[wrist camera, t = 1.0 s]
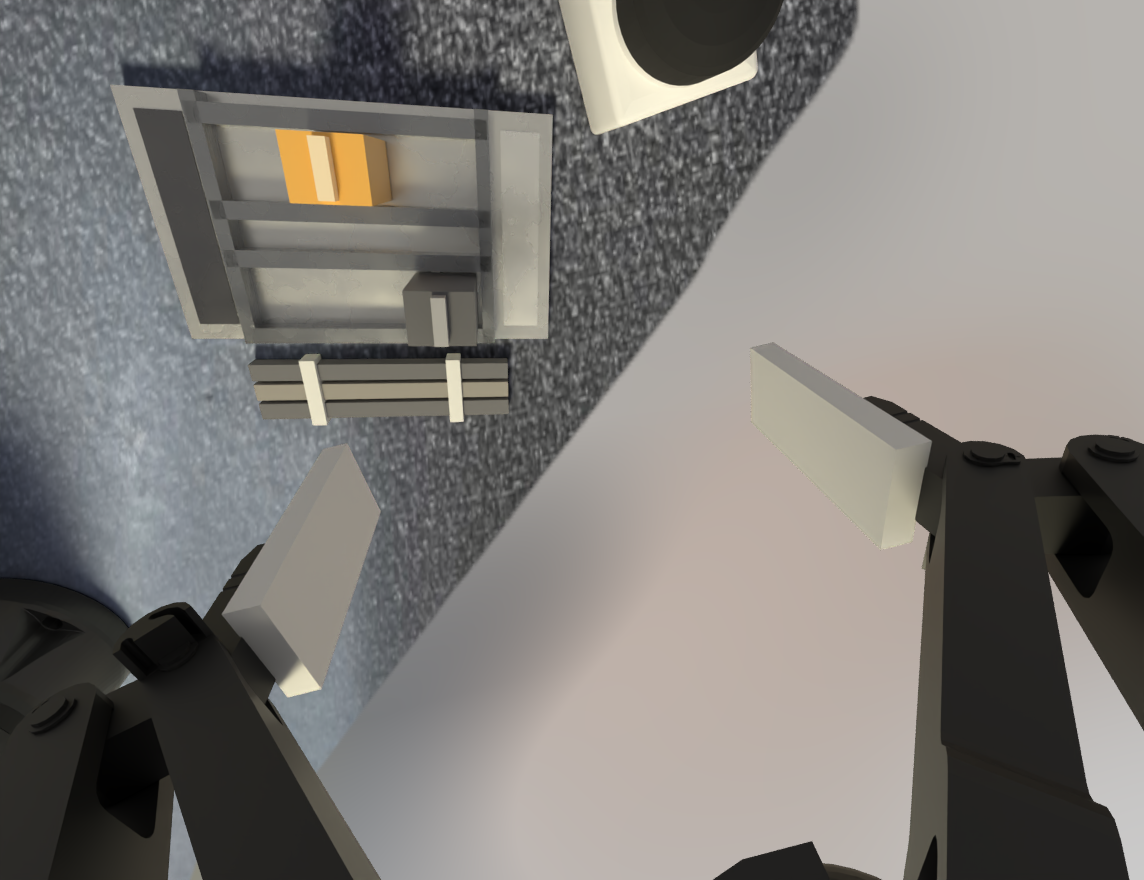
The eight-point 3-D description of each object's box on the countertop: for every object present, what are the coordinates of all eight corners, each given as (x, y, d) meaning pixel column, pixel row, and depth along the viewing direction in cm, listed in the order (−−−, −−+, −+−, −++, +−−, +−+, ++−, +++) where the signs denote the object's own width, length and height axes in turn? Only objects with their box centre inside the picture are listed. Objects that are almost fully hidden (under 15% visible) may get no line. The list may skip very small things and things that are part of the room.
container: (704, 95, 32) (821, 54, 21) (591, 137, 32) (646, 118, 21) (681, -62, 28) (810, -218, 17) (553, -14, 28) (596, -137, 17)
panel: (201, 333, 34) (180, 344, 32) (124, 87, 28) (92, 80, 26) (546, 334, 38) (549, 344, 36) (550, 116, 31) (555, 112, 29)
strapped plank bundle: (270, 417, 38) (262, 426, 36) (253, 354, 36) (244, 361, 34) (508, 412, 41) (508, 420, 39) (507, 353, 38) (507, 359, 37)
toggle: (420, 319, 35) (406, 350, 29) (415, 272, 33) (399, 294, 27) (478, 320, 35) (476, 350, 29) (476, 273, 34) (473, 295, 28)
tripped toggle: (324, 197, 30) (284, 204, 25) (313, 136, 29) (268, 127, 23) (392, 200, 31) (369, 207, 25) (385, 140, 30) (359, 133, 24)
